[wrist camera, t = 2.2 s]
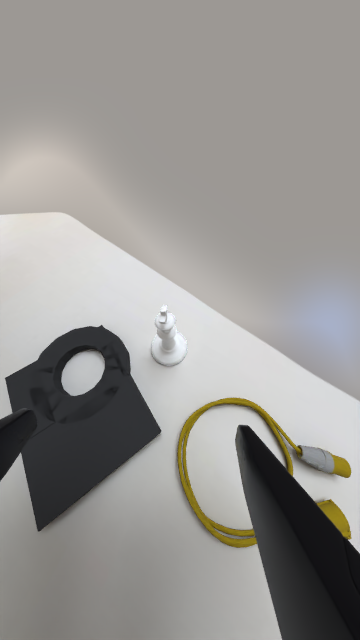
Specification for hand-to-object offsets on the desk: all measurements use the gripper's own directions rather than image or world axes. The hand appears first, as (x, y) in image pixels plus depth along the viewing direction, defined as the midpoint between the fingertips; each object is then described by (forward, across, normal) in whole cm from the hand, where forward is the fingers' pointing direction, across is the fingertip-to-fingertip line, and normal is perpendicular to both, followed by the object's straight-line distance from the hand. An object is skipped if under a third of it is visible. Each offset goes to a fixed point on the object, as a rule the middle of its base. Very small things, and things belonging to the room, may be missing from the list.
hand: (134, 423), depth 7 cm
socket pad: (+10, +9, +9) cm, 16 cm away
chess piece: (+15, 0, +4) cm, 16 cm away
